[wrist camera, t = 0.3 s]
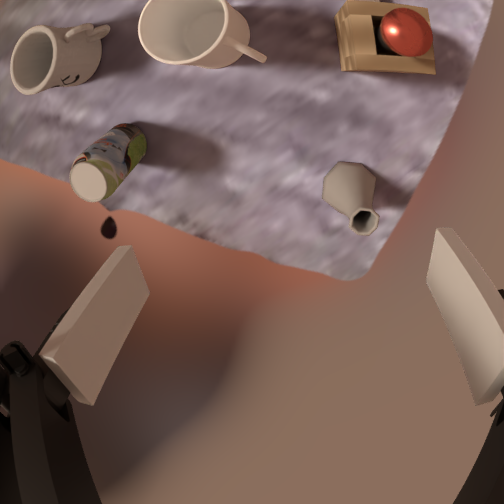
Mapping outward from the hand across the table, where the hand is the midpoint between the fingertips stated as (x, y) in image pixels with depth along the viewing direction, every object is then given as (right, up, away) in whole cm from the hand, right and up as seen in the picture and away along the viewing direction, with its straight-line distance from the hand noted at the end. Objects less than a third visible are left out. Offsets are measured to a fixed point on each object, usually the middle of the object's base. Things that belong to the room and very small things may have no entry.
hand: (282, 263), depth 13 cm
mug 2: (-4, +25, +17) cm, 31 cm away
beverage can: (-18, +15, +26) cm, 34 cm away
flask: (+11, +9, +26) cm, 29 cm away
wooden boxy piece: (+13, +25, +15) cm, 31 cm away
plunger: (+12, +22, +10) cm, 27 cm away
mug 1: (-24, +28, +18) cm, 41 cm away
